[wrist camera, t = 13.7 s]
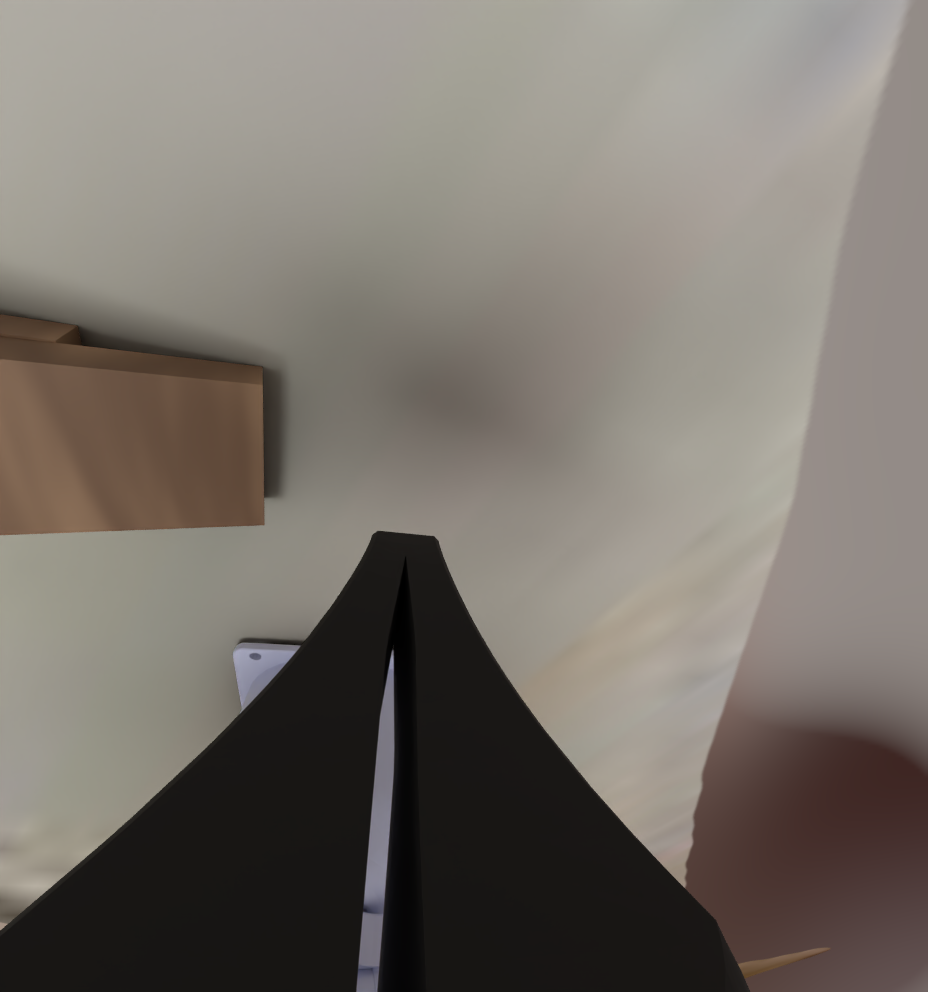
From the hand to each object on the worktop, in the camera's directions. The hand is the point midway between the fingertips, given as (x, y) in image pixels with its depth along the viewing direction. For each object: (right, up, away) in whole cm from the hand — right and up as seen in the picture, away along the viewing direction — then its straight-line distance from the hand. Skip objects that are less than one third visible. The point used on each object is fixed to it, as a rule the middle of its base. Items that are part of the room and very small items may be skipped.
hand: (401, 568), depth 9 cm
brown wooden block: (-5, +3, +4) cm, 7 cm away
